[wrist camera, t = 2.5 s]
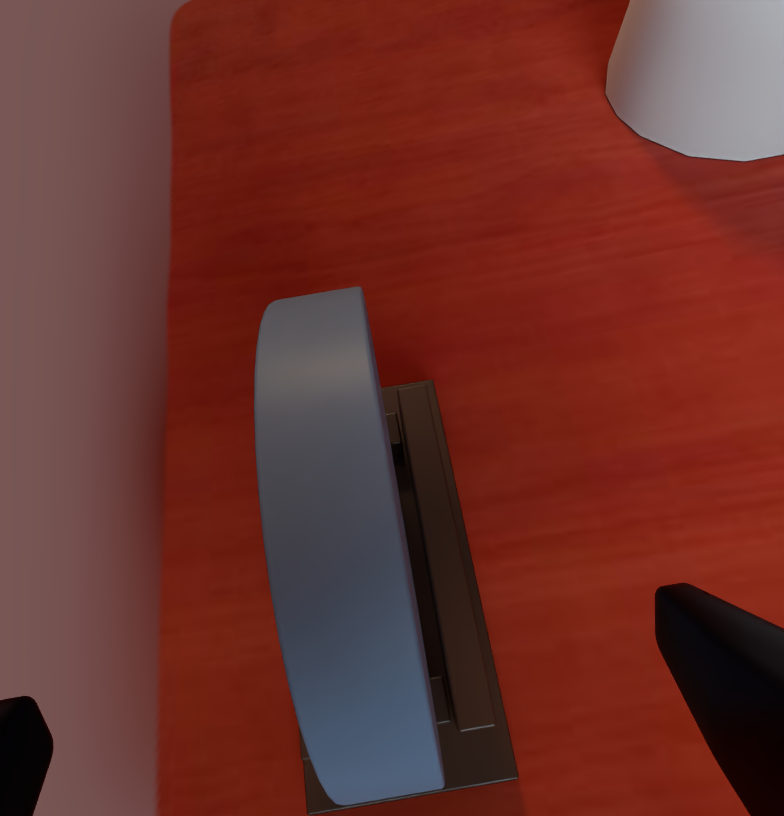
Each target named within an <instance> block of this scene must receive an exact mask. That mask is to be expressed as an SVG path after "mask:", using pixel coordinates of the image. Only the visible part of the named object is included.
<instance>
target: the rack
mask: <svg viewBox="0 0 784 816" xmlns="http://www.w3.org/2000/svg"><path fill="white" fill-rule="evenodd" d="M381 392H382V398H383V403H384V409H385V415H386V421H387V427H388V432H389V438H390V444H391V450H392V456H393V462H394V467H395V473H396V479H397V485H398V491H399V497H400V503H401V509H402V515H403V521H404V527H405V533H406V539H407V545H408V551H409V557H410V563H411V569H412V575H413V581H414V587H415V593H416V599H417V605H418V611H419V617H420V623H421V629H422V635H423V642H424V648H425V654H426V660H427V666H428V673H429V679H430V685H431V691H432V698H433V704H434V710H435V717H436V723H437V730H438V736H439V743H440V749H441V756H442V763H443V770H444V778H445V785H444V787H443V788H442V789H438V790H432V791H426V792H420V793H415V794H409V795H403V796H397V797H392V798H386V799H380V800H374V801H369V802H363V803H357V804H351V805H346V806H345V805H339V804H336V803H335V802H334V801H333V800H332V799H331V798H330V797H329V796H328V795H327V794H326V792H325V790H324V788H323V786H322V785H321V783H320V781H319V779H318V777H317V774H316V772H315V769H314V767H313V764H312V762H311V759H310V757H309V754H308V752H307V748H306V745H305V742H304V739H303V736H302V733H301V730H300V726H299V735H300V749H301V759H302V760H303V765H304V779H305V793H306V807H307V814H308V815H316V814H322V813H328V812H333V811H339V810H345V809H351V808H356V807H362V806H368V805H374V804H379V803H385V802H391V801H397V800H402V799H408V798H414V797H420V796H425V795H431V794H437V793H443V792H448V791H454V790H460V789H466V788H471V787H477V786H483V785H489V784H494V783H500V782H506V781H512V780H517V779H518V771H517V767H516V762H515V757H514V753H513V748H512V744H511V739H510V734H509V730H508V725H507V720H506V716H505V711H504V706H503V702H502V697H501V692H500V688H499V683H498V679H497V674H496V669H495V665H494V660H493V655H492V651H491V646H490V641H489V637H488V632H487V627H486V623H485V618H484V614H483V609H482V604H481V600H480V595H479V590H478V586H477V581H476V576H475V572H474V567H473V562H472V558H471V553H470V549H469V544H468V539H467V535H466V530H465V525H464V521H463V516H462V511H461V507H460V502H459V498H458V493H457V488H456V484H455V479H454V474H453V470H452V465H451V460H450V456H449V451H448V446H447V442H446V437H445V433H444V428H443V423H442V419H441V414H440V409H439V405H438V400H437V395H436V391H435V386H434V381H433V380H426V381H421V382H415V383H409V384H403V385H397V386H391V387H385V388H381Z"/></svg>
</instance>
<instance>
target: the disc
mask: <svg viewBox="0 0 784 816" xmlns="http://www.w3.org/2000/svg"><path fill="white" fill-rule="evenodd" d="M254 423H255V451H256V465H257V479H258V492H259V502H260V512H261V521H262V531H263V540H264V548H265V555H266V562H267V569H268V576H269V584H270V591H271V597H272V602H273V608H274V614H275V620H276V626H277V631H278V637H279V642H280V647H281V652H282V656H283V661H284V666H285V671H286V675H287V680H288V685H289V688H290V692H291V696H292V700H293V704H294V708H295V712H296V716H297V720H298V723H299V726H300V730H301V733H302V736H303V739H304V742H305V745H306V748H307V752H308V754H309V757H310V759H311V762H312V764H313V767H314V769H315V772H316V774H317V777H318V779H319V781H320V783H321V785H322V786H323V788H324V790H325V792H326V794H327V795H328V796H329V797H330V798H331V799H332V800H333V801H334V802H335V803H336V804H339V805H345V806H346V805H351V804H357V803H363V802H369V801H374V800H380V799H386V798H392V797H397V796H403V795H409V794H415V793H420V792H426V791H432V790H438V789H442V788H443V787H444V785H445V778H444V770H443V763H442V756H441V749H440V743H439V736H438V730H437V723H436V717H435V710H434V704H433V698H432V691H431V685H430V679H429V673H428V666H427V660H426V654H425V648H424V642H423V635H422V629H421V623H420V617H419V611H418V605H417V599H416V593H415V587H414V581H413V575H412V569H411V563H410V557H409V551H408V545H407V539H406V533H405V527H404V521H403V515H402V509H401V503H400V497H399V491H398V485H397V479H396V473H395V467H394V462H393V456H392V450H391V444H390V438H389V432H388V427H387V421H386V415H385V409H384V403H383V398H382V392H381V386H380V381H379V375H378V369H377V364H376V358H375V352H374V347H373V341H372V336H371V330H370V325H369V319H368V314H367V309H366V304H365V299H364V294H363V290H362V288H361V287H358V286H357V287H351V288H345V289H339V290H333V291H328V292H322V293H316V294H310V295H304V296H298V297H292V298H286V299H280V300H276V301H274V302H272V303H270V304H269V305H268V306H267V308H266V310H265V312H264V314H263V317H262V321H261V324H260V328H259V335H258V342H257V348H256V361H255V375H254Z"/></svg>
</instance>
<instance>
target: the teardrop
mask: <svg viewBox="0 0 784 816" xmlns="http://www.w3.org/2000/svg"><path fill="white" fill-rule="evenodd" d="M605 94H606V96H607V98H608V100H609V102H610V104H611V105H612V107H613V109H614V111H615V113H616V115H617V116H618V117H619V118H620V119H621V120H623V121H624V122H625V123H626V124H627V125H628V126H629V127H631V128H632V129H633V130H634V131H635V132H636V133H637V134H639V135H640V136H642V137H644V138H647V139H649V140H651V141H654V142H656V143H659V144H661V145H663V146H666V147H668V148H670V149H673V150H675V151H678V152H680V153H682V154H685V155H687V156H693V157H704V158H715V159H725V160H736V161H750V160H755V159H761V158H766V157H772V156H778V155H782V154H784V0H630V3H629V6H628V9H627V11H626V14H625V17H624V20H623V23H622V26H621V28H620V31H619V34H618V37H617V40H616V43H615V45H614V48H613V51H612V54H611V57H610V60H609V62H608V70H607V81H606V91H605Z"/></svg>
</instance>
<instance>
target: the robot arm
mask: <svg viewBox="0 0 784 816" xmlns="http://www.w3.org/2000/svg"><path fill="white" fill-rule="evenodd" d="M655 635H656V640H657V644H658V647H659V650H660V652H661V654H662V656H663V658H664V660H665V662H666V664H667V666H668V668H669V670H670V672H671V674H672V676H673V678H674V680H675V681H676V683H677V685H678V687H679V689H680V691H681V693H682V695H683V697H684V699H685V701H686V703H687V705H688V707H689V709H690V711H691V713H692V715H693V717H694V719H695V721H696V723H697V725H698V727H699V729H700V731H701V733H702V735H703V737H704V739H705V741H706V743H707V744H708V746H709V748H710V750H711V752H712V754H713V756H714V757H715V759H716V761H717V762H718V764H719V766H720V767H721V769H722V771H723V772H724V774H725V776H726V777H727V779H728V781H729V782H730V784H731V785H732V787H733V788H734V790H735V792H736V793H737V795H738V796H739V798H740V799H741V801H742V803H743V804H744V806H745V807H746V809H747V811H748V812H749V814H750V815H751V816H784V629H783V628H781V627H779V626H777V625H775V624H772V623H770V622H768V621H766V620H764V619H762V618H760V617H758V616H756V615H754V614H751V613H749V612H747V611H745V610H743V609H741V608H739V607H737V606H735V605H733V604H730V603H728V602H726V601H724V600H722V599H720V598H718V597H716V596H714V595H712V594H709V593H707V592H705V591H703V590H701V589H699V588H697V587H695V586H693V585H690V584H688V583H678V584H672V585H666V586H661V587H659V588H658V589H657V590H656V593H655ZM52 754H53V738H52V735H51V733H50V731H49V729H48V727H47V724H46V722H45V720H44V718H43V716H42V714H41V712H40V710H39V707H38V705H37V703H36V702H35V700H34V699H33V698H31V697H29V696H22V697H15V698H10V699H4V700H0V816H33V813H34V810H35V807H36V804H37V801H38V798H39V795H40V792H41V789H42V786H43V783H44V780H45V777H46V774H47V771H48V768H49V764H50V761H51V758H52Z"/></svg>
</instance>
